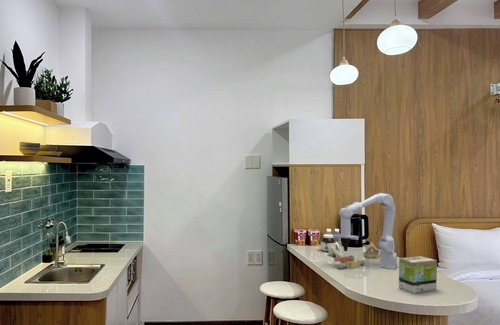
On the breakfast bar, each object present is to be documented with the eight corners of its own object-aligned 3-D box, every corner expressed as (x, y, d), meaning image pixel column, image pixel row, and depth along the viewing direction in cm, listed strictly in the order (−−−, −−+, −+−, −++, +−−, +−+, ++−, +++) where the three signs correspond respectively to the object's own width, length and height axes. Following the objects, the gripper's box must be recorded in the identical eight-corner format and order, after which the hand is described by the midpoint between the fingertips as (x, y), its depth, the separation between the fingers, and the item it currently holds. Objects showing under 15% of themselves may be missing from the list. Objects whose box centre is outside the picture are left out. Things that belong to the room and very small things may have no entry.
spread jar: (319, 251, 265) (319, 234, 265) (328, 249, 273) (328, 233, 273) (333, 254, 256) (333, 237, 257) (342, 251, 264) (342, 235, 264)
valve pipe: (359, 263, 230) (359, 257, 230) (366, 265, 225) (366, 259, 225) (335, 267, 220) (335, 261, 220) (342, 270, 215) (342, 263, 215)
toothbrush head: (344, 258, 229) (327, 244, 253) (344, 268, 229) (327, 254, 254) (352, 257, 230) (334, 244, 254) (351, 268, 231) (334, 253, 255)
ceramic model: (363, 253, 259) (363, 239, 259) (380, 255, 255) (380, 240, 255) (362, 258, 245) (362, 243, 245) (380, 259, 242) (380, 244, 242)
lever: (352, 259, 224) (352, 255, 224) (354, 260, 221) (354, 256, 221) (333, 260, 221) (333, 256, 221) (336, 262, 218) (336, 257, 218)
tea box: (414, 294, 174) (414, 262, 174) (398, 287, 183) (398, 257, 184) (437, 290, 180) (437, 259, 180) (420, 284, 189) (420, 255, 190)
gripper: (359, 227, 222) (359, 250, 222) (334, 226, 229) (335, 248, 228) (357, 229, 216) (357, 253, 216) (332, 228, 222) (332, 250, 222)
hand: (345, 250), depth 222 cm, fingers closed
